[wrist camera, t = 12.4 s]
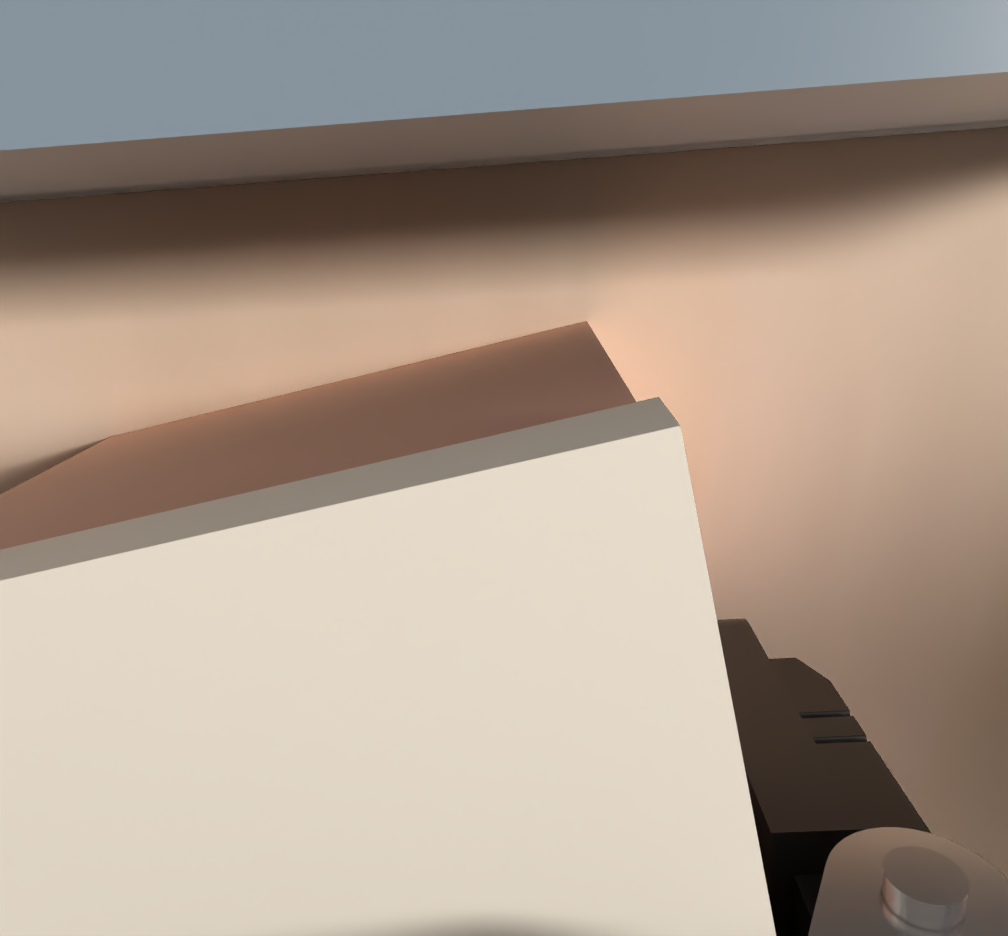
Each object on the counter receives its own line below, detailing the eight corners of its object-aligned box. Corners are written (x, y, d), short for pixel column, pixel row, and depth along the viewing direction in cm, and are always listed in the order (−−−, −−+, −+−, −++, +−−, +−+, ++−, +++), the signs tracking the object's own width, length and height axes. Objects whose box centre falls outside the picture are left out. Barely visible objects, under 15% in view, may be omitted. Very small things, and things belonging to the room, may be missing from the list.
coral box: (593, 310, 9) (679, 426, 4) (711, 869, 12) (863, 1399, 6) (100, 430, 10) (-372, 664, 5) (304, 940, 12) (139, 1482, 7)
